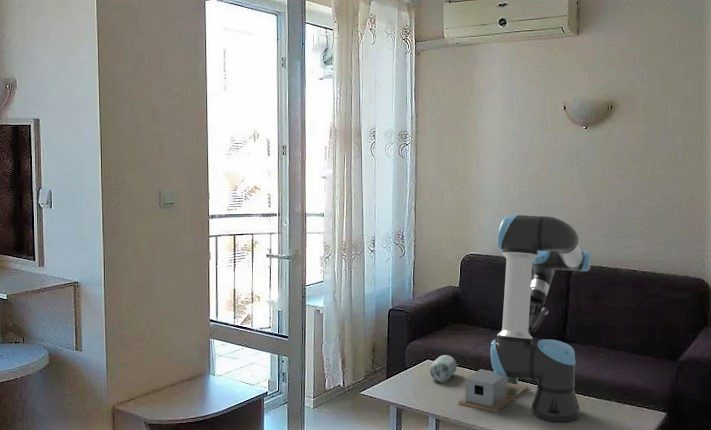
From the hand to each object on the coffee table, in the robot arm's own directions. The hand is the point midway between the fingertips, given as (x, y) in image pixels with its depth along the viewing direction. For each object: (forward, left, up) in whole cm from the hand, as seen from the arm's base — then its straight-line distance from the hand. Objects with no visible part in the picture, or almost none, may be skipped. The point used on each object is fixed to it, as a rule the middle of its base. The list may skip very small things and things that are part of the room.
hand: (520, 345), depth 263 cm
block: (-10, +17, -10) cm, 22 cm away
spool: (+12, +26, -12) cm, 32 cm away
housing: (-12, +21, -12) cm, 27 cm away
